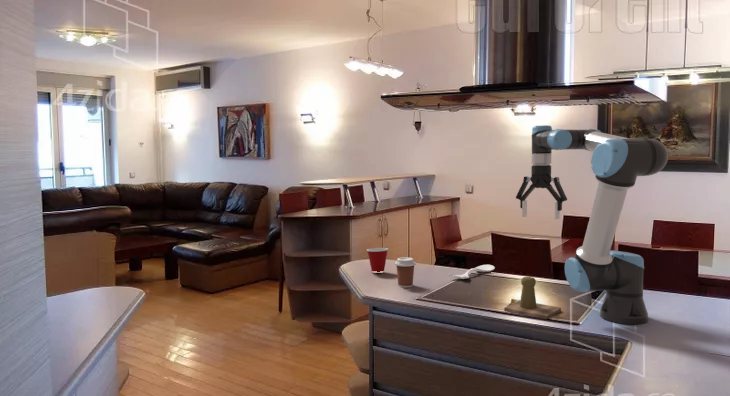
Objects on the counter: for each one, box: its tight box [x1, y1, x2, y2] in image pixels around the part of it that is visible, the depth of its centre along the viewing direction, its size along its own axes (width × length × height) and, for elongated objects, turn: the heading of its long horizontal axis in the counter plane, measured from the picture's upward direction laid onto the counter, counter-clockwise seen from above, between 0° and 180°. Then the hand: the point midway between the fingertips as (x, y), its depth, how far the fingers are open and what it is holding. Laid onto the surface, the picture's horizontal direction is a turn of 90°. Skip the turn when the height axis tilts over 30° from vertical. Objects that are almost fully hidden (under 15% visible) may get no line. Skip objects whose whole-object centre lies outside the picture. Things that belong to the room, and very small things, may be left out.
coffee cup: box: [394, 256, 417, 288], centre depth 239 cm, size 9×9×12 cm
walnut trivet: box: [503, 299, 562, 320], centre depth 200 cm, size 16×13×1 cm
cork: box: [519, 276, 537, 309], centre depth 201 cm, size 6×6×11 cm
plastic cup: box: [366, 247, 389, 272], centre depth 265 cm, size 11×11×12 cm
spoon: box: [448, 264, 496, 280], centre depth 258 cm, size 9×32×4 cm, turn 140°
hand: (540, 217), depth 218 cm, fingers open, 13 cm apart
